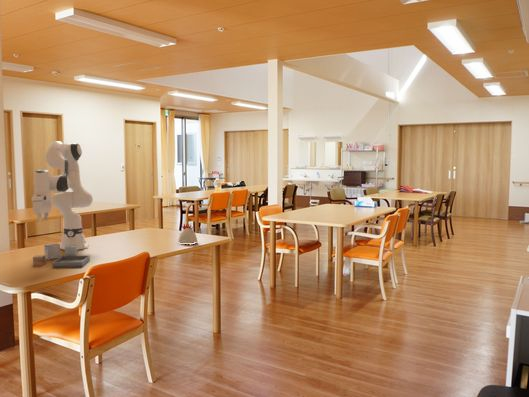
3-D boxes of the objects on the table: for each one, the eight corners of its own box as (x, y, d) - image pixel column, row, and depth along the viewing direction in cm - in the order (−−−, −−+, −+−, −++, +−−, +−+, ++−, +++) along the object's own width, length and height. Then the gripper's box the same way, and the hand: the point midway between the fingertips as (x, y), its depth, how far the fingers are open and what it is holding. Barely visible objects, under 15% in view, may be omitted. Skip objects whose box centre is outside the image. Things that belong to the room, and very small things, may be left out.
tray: (62, 260, 276) (62, 255, 276) (89, 260, 278) (89, 255, 278) (52, 267, 258) (52, 262, 258) (81, 267, 260) (81, 262, 260)
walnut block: (36, 263, 268) (36, 255, 268) (45, 263, 269) (45, 255, 268) (33, 265, 263) (33, 257, 263) (42, 265, 264) (42, 257, 263)
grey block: (66, 258, 284) (66, 245, 283) (78, 258, 284) (78, 245, 284) (63, 260, 277) (62, 247, 276) (75, 260, 278) (75, 247, 277)
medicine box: (57, 256, 287) (56, 243, 287) (60, 257, 285) (60, 244, 284) (44, 258, 281) (44, 244, 281) (47, 259, 278) (47, 245, 278)
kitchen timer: (180, 241, 345) (180, 222, 344) (198, 242, 345) (198, 222, 344) (176, 245, 331) (176, 224, 330) (195, 245, 331) (195, 224, 330)
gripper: (43, 196, 280) (43, 219, 280) (30, 197, 259) (31, 222, 260) (54, 196, 281) (54, 219, 281) (42, 197, 260) (42, 221, 261)
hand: (43, 220), depth 270 cm, fingers open, 8 cm apart
